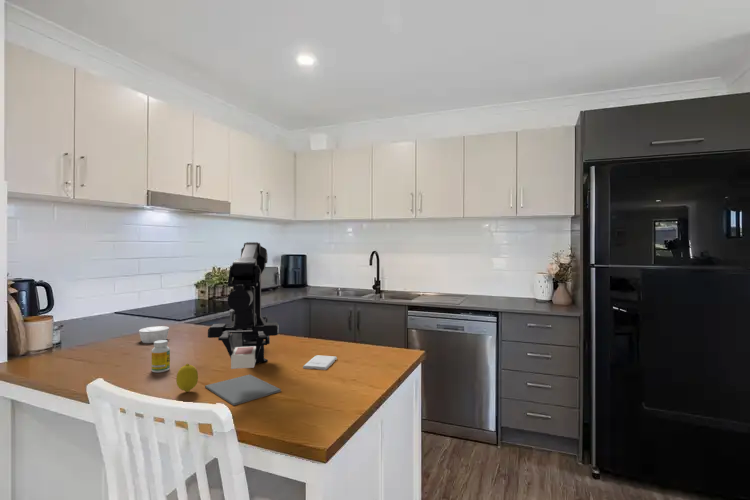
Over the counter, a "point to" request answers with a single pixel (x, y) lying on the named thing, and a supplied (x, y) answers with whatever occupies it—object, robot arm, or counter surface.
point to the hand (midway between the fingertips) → (244, 359)
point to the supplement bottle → (160, 356)
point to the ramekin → (153, 334)
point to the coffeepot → (236, 335)
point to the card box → (243, 357)
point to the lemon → (187, 377)
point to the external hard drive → (320, 362)
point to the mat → (242, 389)
